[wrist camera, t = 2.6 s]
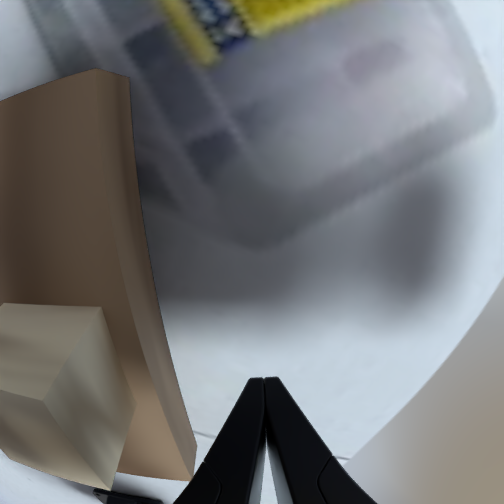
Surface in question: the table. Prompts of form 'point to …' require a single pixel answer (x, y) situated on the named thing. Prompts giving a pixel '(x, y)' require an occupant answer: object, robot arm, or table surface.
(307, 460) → the robot arm
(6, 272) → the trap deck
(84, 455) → the maple block
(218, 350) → the table surface
